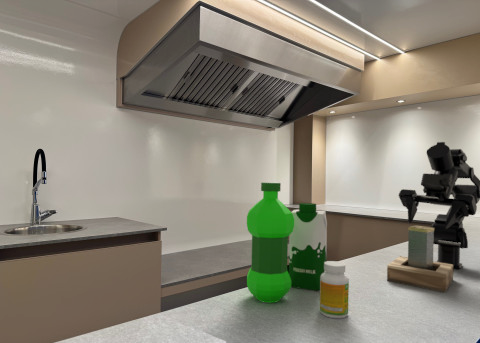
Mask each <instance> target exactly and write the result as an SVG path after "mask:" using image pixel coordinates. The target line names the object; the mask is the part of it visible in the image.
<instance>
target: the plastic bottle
mask: <svg viewBox="0 0 480 343" xmlns="http://www.w3.org/2000/svg"><path fill="white" fill-rule="evenodd" d="M260 184H261V185H260V191H261V192H263V194H262V195H263V196H262V197H263V198H262V199H260V200H259V201H258V202H256V204H254V205H253V206H252V207H251V208H250V209H249V210H248V212H247V215H246V227H247V231H248V233H250V235H251V263H250V264H251V266H250V268H249V269H248V272H247V273H246V274H247V275H246V286H247V289H248V291H249V293H250V294H251V295H252V296H253V297H254V298H256V300H258V301H259V302H260V303H261V302H262V303H268V304H269V303H270V304H271V303H272V304H273V303H277V302H280V301H281V299H283V298H284V297H285V296H286V295H287V294H288V293H289V292H290V290H291V288H292V287H291V278H290V274H289V270H288V254H289V239H288V238H289V235H290V234H291V233H292V232H293V228H294V217H293V214H292V211H291V210H290V209H289V207H287V206H286V205H285V204H284V203H283V202H282V201H280V199H279V198H278V196H279V192H281V186H282V185H281V182H261V183H260Z"/></svg>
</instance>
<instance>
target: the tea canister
mask: <svg viewBox="0 0 480 343" xmlns="http://www.w3.org/2000/svg"><path fill="white" fill-rule="evenodd" d="M407 231H408V235H407V236H408V241H407V242H408V243H407V244H408V246H407V247H408V248H407V257H408V266H409V267H414V268H420V269H426V270H431V271H433V262H434V244H433V242H434V228H432V227H431V226H424V225H423V226H422V225H417V224H416V225H412V226H411V225H410V226H408V227H407Z"/></svg>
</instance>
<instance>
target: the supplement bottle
mask: <svg viewBox="0 0 480 343" xmlns="http://www.w3.org/2000/svg"><path fill="white" fill-rule="evenodd" d="M324 270H325V272H324V273H322V274H321V276H320V291H319V313H320V314H322V315H323V316H324V317H327V318H329V319H330V318H331V319H344V318H346V317H348V315H349V295H350V294H349V292H350V291H349V290H350V289H349V287H350V285H349V284H350V282H349V281H350V279H349V277H348V275H347V274H345V273H346V263H344V262H341V261H336V260H326V262H324Z"/></svg>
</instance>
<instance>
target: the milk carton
mask: <svg viewBox="0 0 480 343" xmlns="http://www.w3.org/2000/svg"><path fill="white" fill-rule="evenodd" d="M291 212H292V214H293V217H294V228H293V232H292V233H291V234H290V235H289V236H288V238H289V239H288V273H289V275H290V278H291V288H294V289H295V288H296V289H302V290H309V291H310V290H312V291H317V292H318V291H319V292H320V276H321V274H322V273H324V272H325V270H324V262H326V261H327V249H328V248H327V246H328V245H327V243H328V242H327V240H328V235H327V234H328V231H327V230H328V229H327V227H328V220H327V216H326V215H327V214H326V213H327V212H326V210H317V203H313V202H311V203H310V202H301V203H300V202H299V204H298V209H293V210H292V211H291Z"/></svg>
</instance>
